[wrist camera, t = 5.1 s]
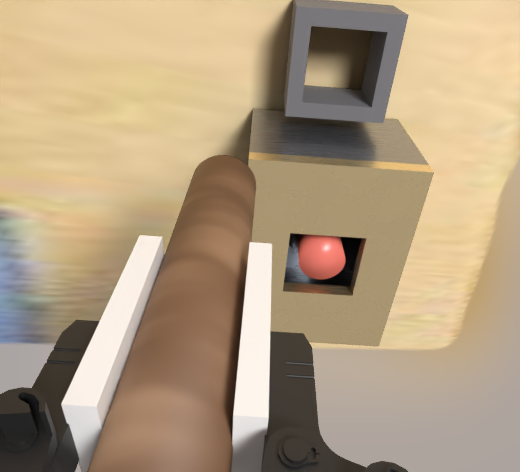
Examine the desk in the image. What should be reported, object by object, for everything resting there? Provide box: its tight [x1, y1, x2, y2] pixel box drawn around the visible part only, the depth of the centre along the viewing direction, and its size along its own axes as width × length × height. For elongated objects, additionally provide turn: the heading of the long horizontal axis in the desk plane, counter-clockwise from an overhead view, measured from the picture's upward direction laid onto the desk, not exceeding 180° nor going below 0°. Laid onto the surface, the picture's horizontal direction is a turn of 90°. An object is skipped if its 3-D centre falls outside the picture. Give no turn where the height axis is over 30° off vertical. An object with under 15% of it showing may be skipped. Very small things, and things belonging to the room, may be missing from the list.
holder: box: [284, 0, 408, 123], centre depth 30 cm, size 7×7×4 cm
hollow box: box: [248, 109, 434, 346], centre depth 34 cm, size 11×15×9 cm
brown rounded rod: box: [87, 155, 256, 472], centre depth 14 cm, size 3×3×16 cm
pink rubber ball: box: [297, 234, 345, 279], centre depth 32 cm, size 3×3×3 cm
